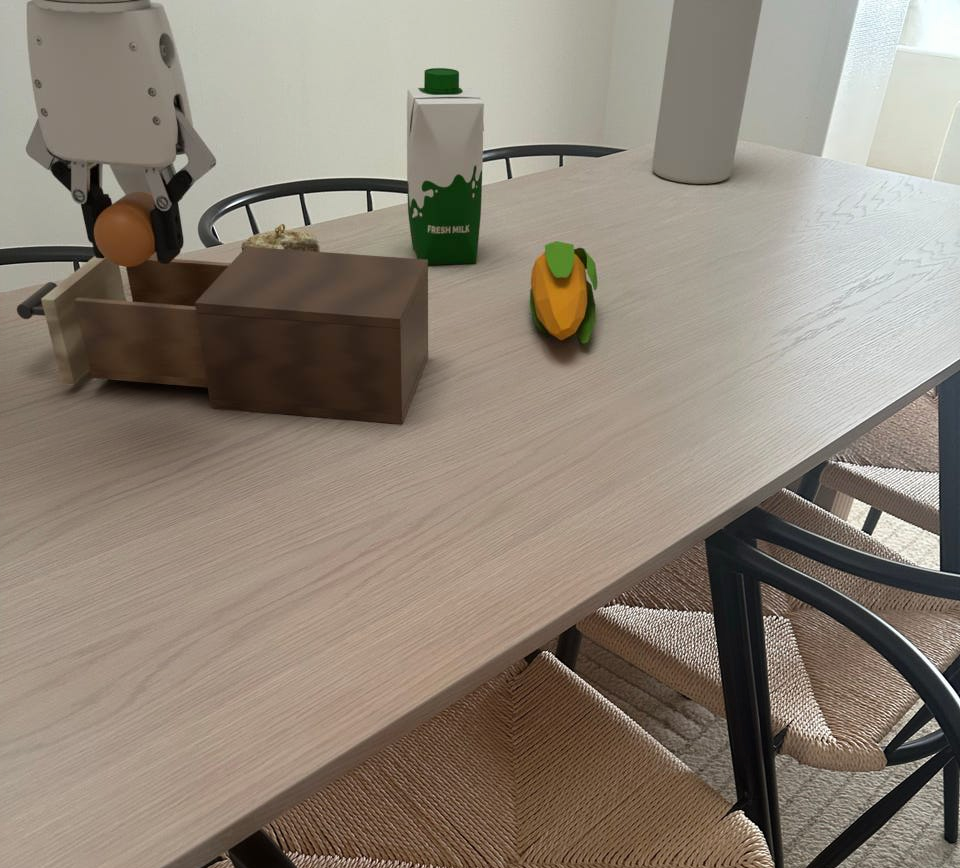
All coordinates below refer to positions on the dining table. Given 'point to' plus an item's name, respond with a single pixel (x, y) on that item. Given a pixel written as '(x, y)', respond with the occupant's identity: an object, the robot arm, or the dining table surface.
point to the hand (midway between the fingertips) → (138, 253)
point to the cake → (284, 240)
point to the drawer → (127, 321)
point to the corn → (563, 291)
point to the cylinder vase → (704, 88)
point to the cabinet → (316, 334)
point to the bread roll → (126, 230)
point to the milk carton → (444, 168)
